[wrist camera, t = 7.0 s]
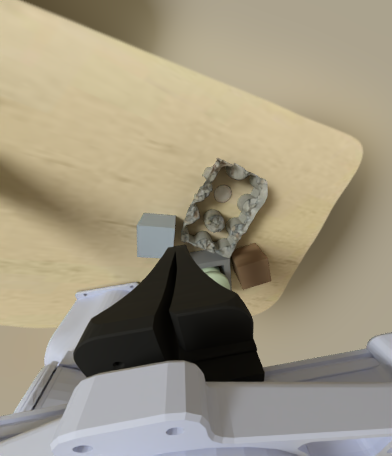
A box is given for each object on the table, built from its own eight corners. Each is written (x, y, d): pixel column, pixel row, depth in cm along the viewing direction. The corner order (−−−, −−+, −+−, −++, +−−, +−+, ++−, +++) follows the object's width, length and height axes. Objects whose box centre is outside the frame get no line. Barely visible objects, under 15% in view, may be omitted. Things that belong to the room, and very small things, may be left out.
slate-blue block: (144, 240, 23) (137, 256, 19) (144, 212, 21) (136, 225, 18) (173, 242, 23) (172, 258, 20) (175, 215, 22) (174, 228, 18)
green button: (192, 283, 26) (195, 306, 22) (188, 257, 24) (190, 279, 20) (223, 277, 26) (230, 300, 22) (221, 252, 24) (229, 272, 20)
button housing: (189, 284, 27) (190, 299, 24) (183, 253, 24) (184, 266, 21) (226, 278, 27) (231, 292, 24) (224, 246, 24) (229, 259, 22)
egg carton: (210, 152, 19) (218, 151, 15) (262, 180, 21) (280, 185, 17) (175, 229, 23) (174, 244, 19) (222, 247, 25) (230, 264, 21)
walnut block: (234, 270, 27) (243, 289, 23) (228, 250, 25) (237, 267, 21) (258, 263, 26) (271, 281, 23) (254, 242, 25) (267, 258, 21)
